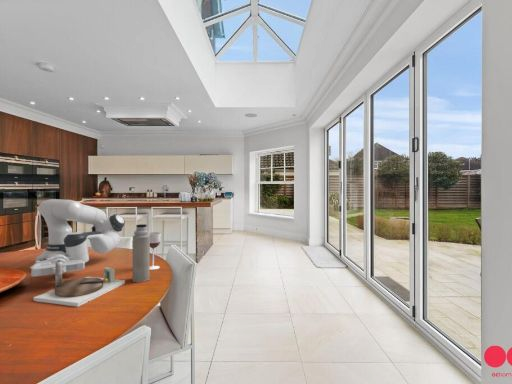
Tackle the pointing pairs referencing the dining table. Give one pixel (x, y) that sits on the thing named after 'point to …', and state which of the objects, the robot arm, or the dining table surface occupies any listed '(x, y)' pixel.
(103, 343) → the dining table surface
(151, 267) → the wineglass
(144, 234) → the thermos bottle
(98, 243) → the robot arm
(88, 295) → the stand
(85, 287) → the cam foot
